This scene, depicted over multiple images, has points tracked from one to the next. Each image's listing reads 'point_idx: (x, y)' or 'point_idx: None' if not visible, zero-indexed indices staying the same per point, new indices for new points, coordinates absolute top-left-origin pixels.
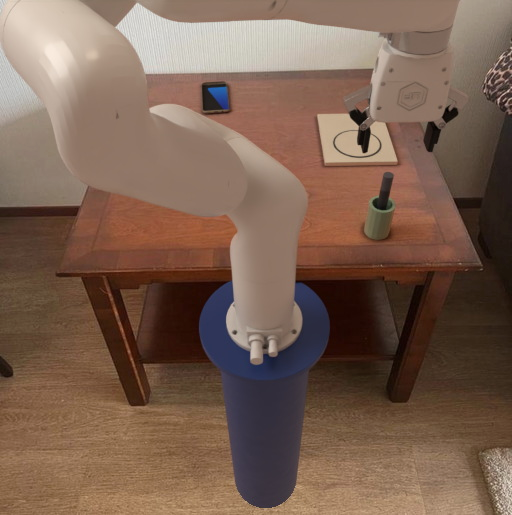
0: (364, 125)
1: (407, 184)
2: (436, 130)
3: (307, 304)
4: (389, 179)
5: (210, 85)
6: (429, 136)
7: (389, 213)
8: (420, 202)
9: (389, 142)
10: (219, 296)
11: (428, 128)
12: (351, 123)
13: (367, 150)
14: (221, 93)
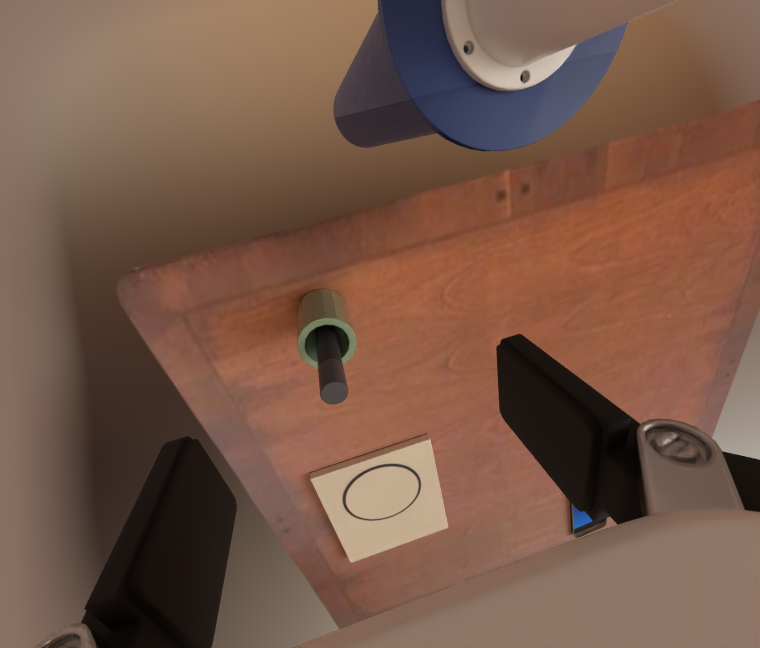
0: (682, 453)
1: (284, 437)
2: (101, 599)
3: (433, 69)
4: (329, 380)
5: (593, 524)
6: (183, 529)
7: (307, 322)
8: (253, 404)
9: (330, 512)
10: (598, 60)
11: (202, 585)
12: (395, 528)
13: (507, 348)
14: (579, 516)
